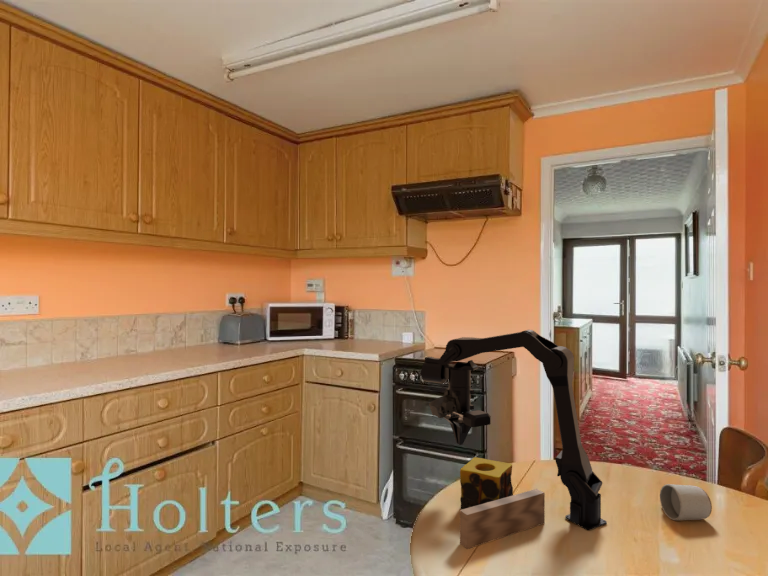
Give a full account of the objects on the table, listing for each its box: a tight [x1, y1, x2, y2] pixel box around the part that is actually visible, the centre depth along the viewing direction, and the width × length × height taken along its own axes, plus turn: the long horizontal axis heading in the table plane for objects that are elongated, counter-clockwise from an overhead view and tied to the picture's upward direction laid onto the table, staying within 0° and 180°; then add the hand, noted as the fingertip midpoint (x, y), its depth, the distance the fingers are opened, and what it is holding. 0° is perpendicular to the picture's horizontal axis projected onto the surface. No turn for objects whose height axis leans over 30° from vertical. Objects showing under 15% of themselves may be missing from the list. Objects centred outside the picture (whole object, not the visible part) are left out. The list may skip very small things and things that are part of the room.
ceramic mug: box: [659, 483, 713, 521], centre depth 112 cm, size 11×8×8 cm
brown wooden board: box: [459, 488, 546, 550], centre depth 104 cm, size 22×2×7 cm, turn 118°
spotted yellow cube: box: [459, 456, 514, 510], centre depth 117 cm, size 10×10×10 cm
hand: (459, 444), depth 126 cm, fingers closed
